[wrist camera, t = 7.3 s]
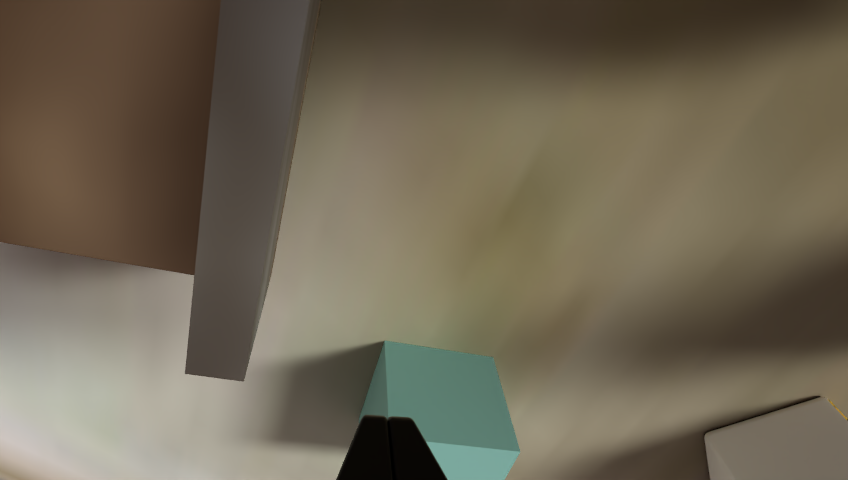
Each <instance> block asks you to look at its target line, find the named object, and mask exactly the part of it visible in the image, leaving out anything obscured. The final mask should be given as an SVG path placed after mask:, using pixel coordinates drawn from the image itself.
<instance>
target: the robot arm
mask: <svg viewBox="0 0 848 480" xmlns="http://www.w3.org/2000/svg"><path fill="white" fill-rule="evenodd" d="M336 480H448V479H447V477H446V476H445V474H444V472H443V470H442V469H441V467H440V465H439V463H438V462H437V460H436V458H435V457H434V455H433V453H432V451H431V450H430V448H429V446H428V444H427V443H426V441H425V439H424V437H423V436H422V434H421V432H420V430H419V429H418V427H417V425H416V424H415V422H414V420H413V419H411V418H409V417H397V416H391V417H389V418H388V419H387V418H386V417H385V416H380V415H364V416H363V417H362V419H361V421H360V423H359V426H358V428H357V430H356V433H355V435H354V438H353V440H352V443H351V445H350V447H349V450H348V452H347V455H346V457H345V460H344V462H343V464H342V467H341V469H340V472H339V474H338V477H337V479H336Z"/></svg>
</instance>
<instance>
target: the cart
mask: <svg viewBox="0 0 848 480" xmlns="http://www.w3.org/2000/svg"><path fill="white" fill-rule="evenodd" d="M320 5H321V0H0V242H4V243H9V244H15V245H21V246H27V247H33V248H39V249H44V250H50V251H56V252H62V253H68V254H74V255H79V256H85V257H91V258H97V259H103V260H109V261H114V262H120V263H126V264H132V265H138V266H144V267H149V268H155V269H161V270H167V271H173V272H179V273H184V274H190V275H194V286H193V296H192V307H191V317H190V328H189V338H188V348H187V359H186V369H185V374H191V375H198V376H206V377H214V378H221V379H229V380H237V381H244V378H245V374H246V371H247V367H248V363H249V359H250V355H251V351H252V347H253V343H254V340H255V336H256V332H257V328H258V324H259V320H260V316H261V312H262V308H263V305H264V301H265V297H266V293H267V289H268V285H269V281H270V277H271V273H272V268H273V262H274V257H275V251H276V246H277V240H278V235H279V229H280V224H281V218H282V213H283V207H284V202H285V196H286V191H287V185H288V180H289V174H290V169H291V164H292V158H293V153H294V147H295V142H296V136H297V131H298V125H299V120H300V114H301V109H302V103H303V98H304V92H305V87H306V81H307V76H308V70H309V65H310V60H311V54H312V49H313V43H314V38H315V32H316V27H317V21H318V16H319V10H320Z"/></svg>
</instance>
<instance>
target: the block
mask: <svg viewBox="0 0 848 480" xmlns="http://www.w3.org/2000/svg"><path fill="white" fill-rule="evenodd" d="M364 415H380V416H385V417H386V418H387V419H388V418H389V417H391V416H397V417H409V418H411V419H413V420H414V422H415V424H416V425H417V427H418V429H419V430H420V432H421V434H422V436H423V437H424V439H425V441H426V443H427V444H428V446H429V448H430V450H431V451H432V453H433V455H434V457H435V458H436V460H437V462H438V463H439V465H440V467H441V469H442V470H443V472H444V474H445V476H446V477H447V479H448V480H504V479H505V478H506V476H507V474H508V472H509V471H510V469H511V467H512V465H513V464H514V462H515V460H516V459H517V457H518V455H519V453H520V449H519V446H518V442H517V439H516V435H515V432H514V428H513V425H512V421H511V418H510V414H509V411H508V407H507V404H506V400H505V397H504V394H503V390H502V387H501V383H500V380H499V376H498V373H497V369H496V366H495V362H494V359H493V357H488V356H482V355H475V354H469V353H462V352H456V351H449V350H442V349H436V348H429V347H423V346H416V345H410V344H403V343H397V342H390V341H384V344H383V347H382V350H381V353H380V356H379V360H378V363H377V366H376V369H375V372H374V375H373V378H372V381H371V384H370V387H369V390H368V393H367V396H366V399H365V402H364V405H363V408H362V411H361V414H360V417H359V423H360V421H361V419H362V417H363V416H364Z"/></svg>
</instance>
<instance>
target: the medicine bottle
mask: <svg viewBox="0 0 848 480" xmlns="http://www.w3.org/2000/svg"><path fill="white" fill-rule="evenodd" d="M704 440H705V447H706V454H707V461H708V468H709V475H710V480H848V419H847V418H846V417H845V416H844V415H843V414H842V413H841V412H840V411H839V410H838V409H837V407H836V406H835V405H834V404H833V403H832V402H831V401H830V400H829V399H827V398H825V397H819V398H816V399H813V400H810V401H806V402H803V403H800V404H797V405H794V406H790V407H787V408H784V409H781V410H777V411H774V412H771V413H768V414H765V415H761V416H758V417H755V418H752V419H749V420H745V421H742V422H739V423H736V424H733V425H729V426H726V427H723V428H720V429H717V430H713V431H710V432H707V433H706V434H705V437H704Z"/></svg>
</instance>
